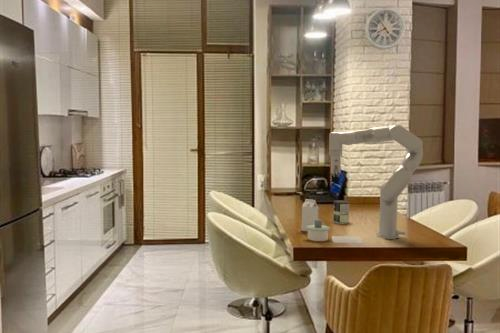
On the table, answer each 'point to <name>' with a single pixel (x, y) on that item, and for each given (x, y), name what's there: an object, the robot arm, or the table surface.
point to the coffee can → (341, 212)
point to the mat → (347, 239)
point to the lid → (318, 226)
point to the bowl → (318, 235)
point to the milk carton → (309, 213)
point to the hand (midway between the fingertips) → (335, 182)
